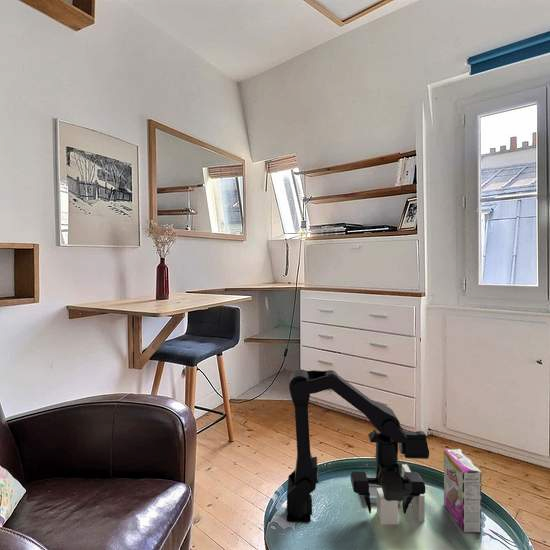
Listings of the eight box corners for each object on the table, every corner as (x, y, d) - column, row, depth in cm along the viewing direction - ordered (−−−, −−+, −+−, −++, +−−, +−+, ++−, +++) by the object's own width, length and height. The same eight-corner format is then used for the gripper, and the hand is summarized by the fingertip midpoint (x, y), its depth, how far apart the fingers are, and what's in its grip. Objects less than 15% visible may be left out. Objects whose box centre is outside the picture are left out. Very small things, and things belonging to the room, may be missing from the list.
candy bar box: (442, 504, 104) (442, 448, 104) (460, 504, 104) (460, 448, 104) (462, 533, 93) (463, 471, 92) (482, 533, 93) (482, 471, 92)
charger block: (380, 524, 97) (380, 497, 97) (376, 512, 101) (376, 487, 101) (397, 524, 97) (397, 498, 96) (393, 512, 101) (393, 487, 101)
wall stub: (418, 521, 98) (418, 495, 97) (401, 486, 113) (401, 464, 112) (424, 521, 98) (424, 495, 97) (406, 486, 113) (406, 464, 112)
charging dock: (364, 505, 104) (364, 498, 104) (358, 483, 114) (358, 477, 114) (400, 505, 104) (400, 499, 104) (390, 484, 114) (390, 478, 114)
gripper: (357, 473, 91) (357, 534, 91) (433, 474, 90) (433, 535, 91) (350, 450, 102) (350, 504, 103) (417, 450, 101) (417, 505, 102)
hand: (386, 512), depth 99 cm, fingers open, 9 cm apart
